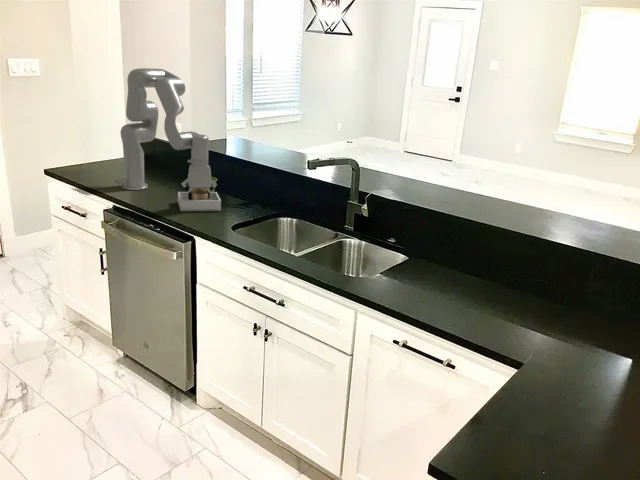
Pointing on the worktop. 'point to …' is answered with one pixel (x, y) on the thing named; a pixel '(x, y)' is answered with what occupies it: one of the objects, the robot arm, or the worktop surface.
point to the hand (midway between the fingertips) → (199, 200)
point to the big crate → (199, 203)
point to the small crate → (199, 194)
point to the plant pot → (211, 183)
